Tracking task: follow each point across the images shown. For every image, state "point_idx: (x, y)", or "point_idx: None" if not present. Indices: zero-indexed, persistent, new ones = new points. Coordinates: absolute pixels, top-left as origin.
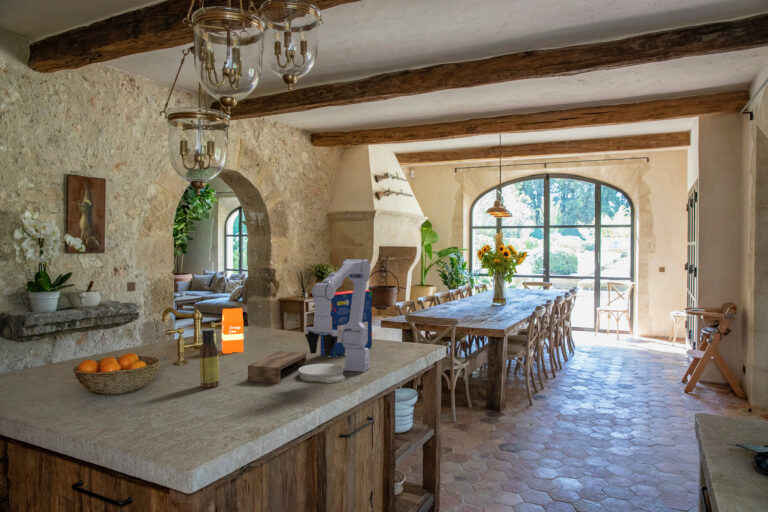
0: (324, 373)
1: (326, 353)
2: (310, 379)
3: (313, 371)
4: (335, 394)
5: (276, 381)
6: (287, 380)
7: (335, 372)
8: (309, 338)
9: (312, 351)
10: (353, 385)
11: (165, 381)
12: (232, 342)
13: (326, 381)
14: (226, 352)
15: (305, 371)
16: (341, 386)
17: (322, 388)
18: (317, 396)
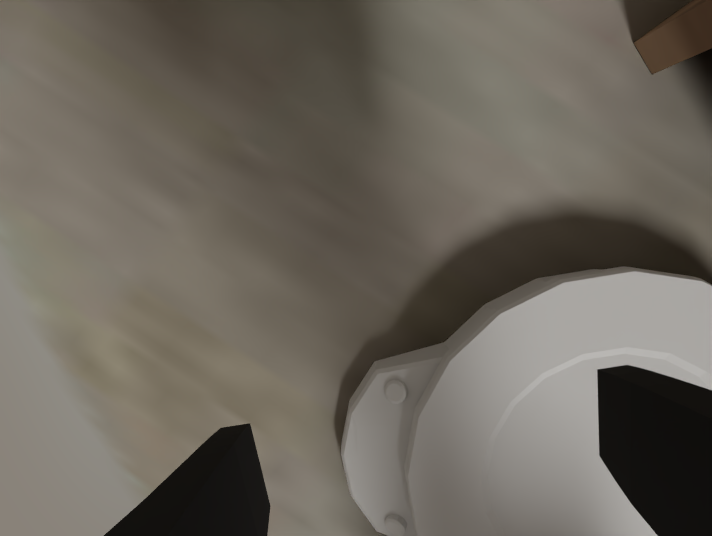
0: (457, 411)
1: (195, 459)
2: (512, 295)
3: (597, 382)
4: (74, 238)
5: (663, 23)
6: (661, 157)
7: (422, 499)
8: None
9: (621, 404)
10: None
11: None
12: None
13: (381, 364)
14: None
15: (640, 320)
16: (229, 390)
17: (270, 252)
18: (104, 100)
